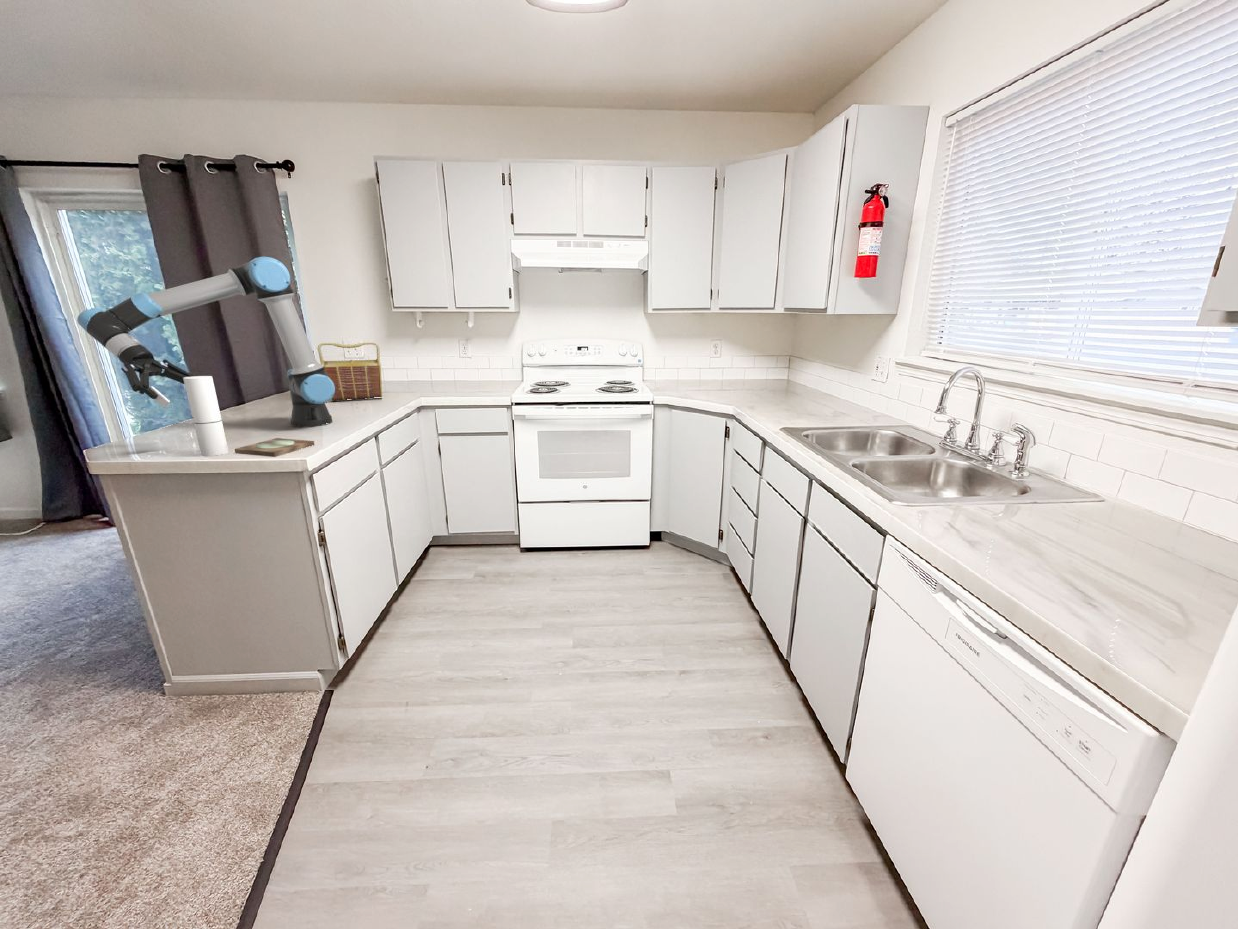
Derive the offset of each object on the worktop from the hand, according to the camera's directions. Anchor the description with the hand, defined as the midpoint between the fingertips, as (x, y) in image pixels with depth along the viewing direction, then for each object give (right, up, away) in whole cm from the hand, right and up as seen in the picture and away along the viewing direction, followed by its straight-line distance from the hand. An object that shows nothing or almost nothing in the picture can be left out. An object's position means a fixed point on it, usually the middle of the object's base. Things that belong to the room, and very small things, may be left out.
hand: (187, 401), depth 159 cm
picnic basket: (-6, +16, +114) cm, 116 cm away
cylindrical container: (+4, -17, +6) cm, 18 cm away
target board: (+20, -15, +12) cm, 28 cm away
